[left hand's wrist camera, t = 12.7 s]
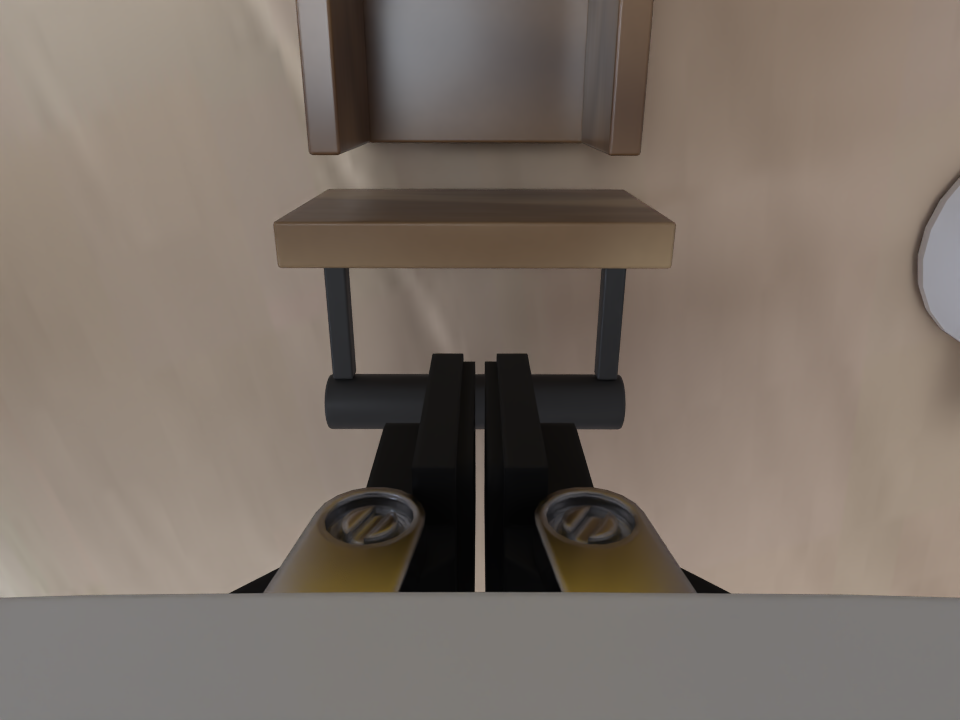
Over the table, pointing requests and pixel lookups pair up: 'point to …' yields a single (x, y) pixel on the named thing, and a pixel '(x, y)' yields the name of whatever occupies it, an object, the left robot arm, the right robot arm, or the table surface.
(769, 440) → the table surface
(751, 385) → the table surface
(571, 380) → the drawer
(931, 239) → the mug
